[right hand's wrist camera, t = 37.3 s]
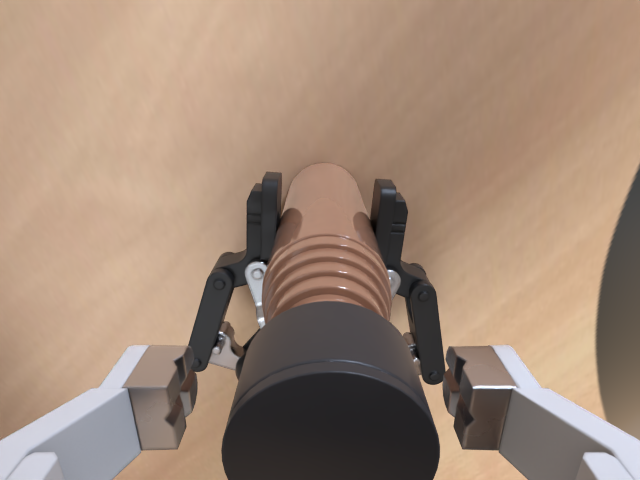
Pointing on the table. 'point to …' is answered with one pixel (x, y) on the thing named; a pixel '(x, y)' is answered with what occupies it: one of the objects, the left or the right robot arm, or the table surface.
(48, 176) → the table surface
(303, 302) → the bottle
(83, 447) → the right robot arm
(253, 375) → the cap
